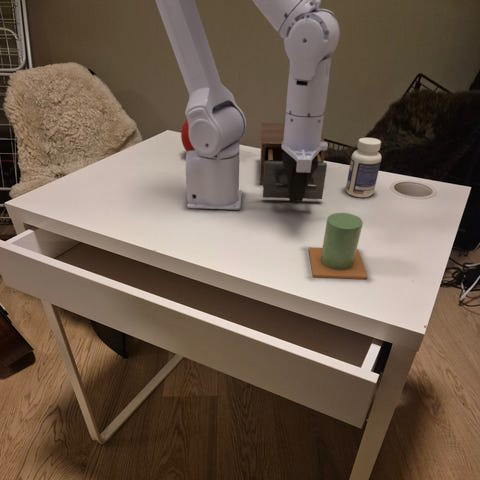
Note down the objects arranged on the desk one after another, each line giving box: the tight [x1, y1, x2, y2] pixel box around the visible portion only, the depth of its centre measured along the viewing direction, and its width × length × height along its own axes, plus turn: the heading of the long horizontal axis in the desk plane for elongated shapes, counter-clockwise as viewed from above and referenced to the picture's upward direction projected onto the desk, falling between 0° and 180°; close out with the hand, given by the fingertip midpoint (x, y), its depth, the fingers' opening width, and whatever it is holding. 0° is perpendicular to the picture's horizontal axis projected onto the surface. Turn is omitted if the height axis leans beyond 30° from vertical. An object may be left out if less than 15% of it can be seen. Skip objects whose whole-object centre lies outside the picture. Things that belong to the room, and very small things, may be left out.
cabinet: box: [259, 122, 326, 186], centre depth 86 cm, size 14×12×8 cm
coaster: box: [308, 246, 368, 280], centre depth 61 cm, size 8×8×1 cm
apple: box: [180, 119, 195, 153], centre depth 93 cm, size 9×9×10 cm
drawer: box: [262, 147, 328, 200], centre depth 78 cm, size 17×11×6 cm, turn 177°
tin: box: [321, 212, 364, 270], centre depth 59 cm, size 5×5×6 cm
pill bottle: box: [345, 137, 382, 198], centre depth 78 cm, size 5×5×10 cm
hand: (295, 199), depth 70 cm, fingers closed
